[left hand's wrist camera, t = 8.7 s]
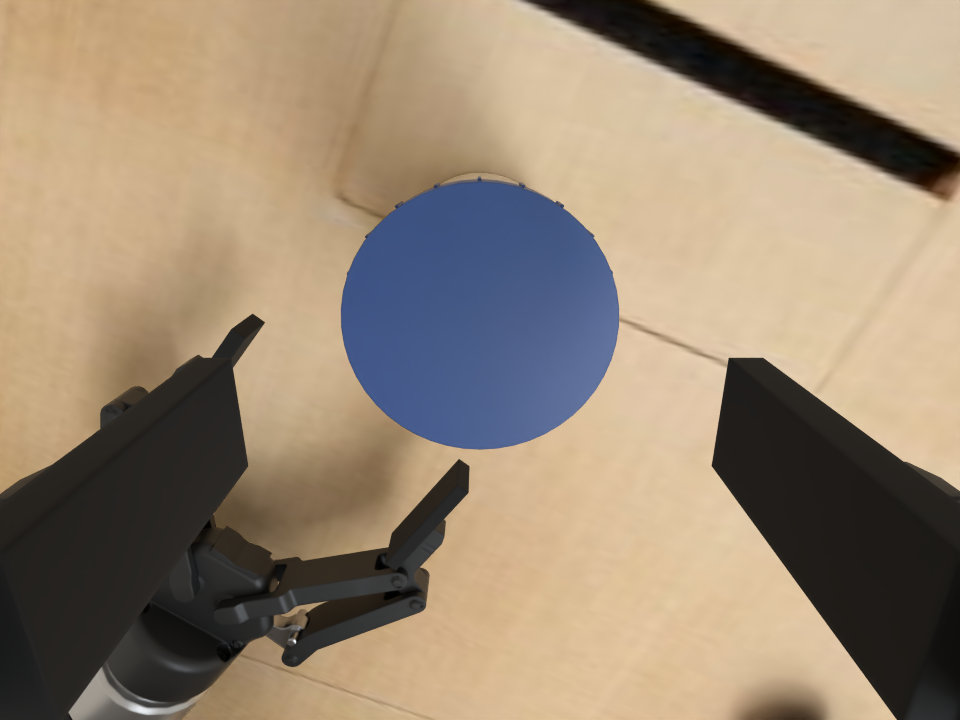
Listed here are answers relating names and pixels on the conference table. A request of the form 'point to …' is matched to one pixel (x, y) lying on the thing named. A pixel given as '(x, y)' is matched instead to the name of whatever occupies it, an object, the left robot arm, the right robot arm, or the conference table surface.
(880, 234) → the conference table surface
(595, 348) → the lid
